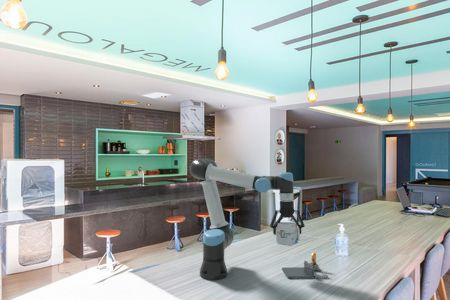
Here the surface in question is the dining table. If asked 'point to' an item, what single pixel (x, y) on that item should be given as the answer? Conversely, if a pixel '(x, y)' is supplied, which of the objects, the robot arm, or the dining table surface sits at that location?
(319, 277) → the rails
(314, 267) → the lever
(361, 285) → the dining table surface
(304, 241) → the dining table surface
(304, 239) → the dining table surface
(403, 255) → the dining table surface
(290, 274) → the bed
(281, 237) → the ink box
